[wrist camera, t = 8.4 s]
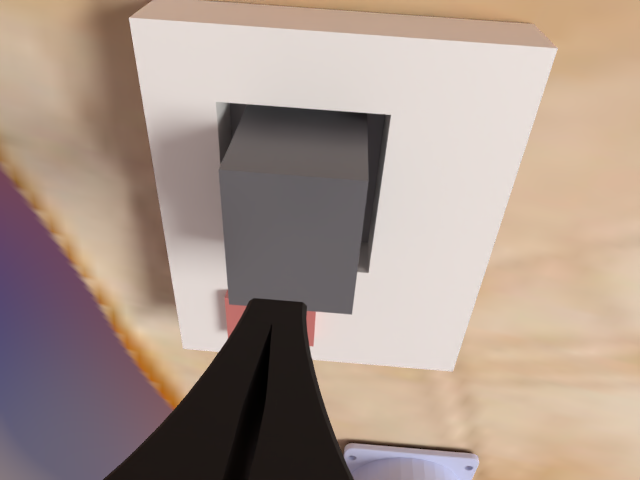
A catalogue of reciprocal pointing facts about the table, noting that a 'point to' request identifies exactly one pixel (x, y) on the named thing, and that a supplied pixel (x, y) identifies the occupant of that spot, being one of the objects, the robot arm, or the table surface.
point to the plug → (295, 206)
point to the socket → (383, 155)
